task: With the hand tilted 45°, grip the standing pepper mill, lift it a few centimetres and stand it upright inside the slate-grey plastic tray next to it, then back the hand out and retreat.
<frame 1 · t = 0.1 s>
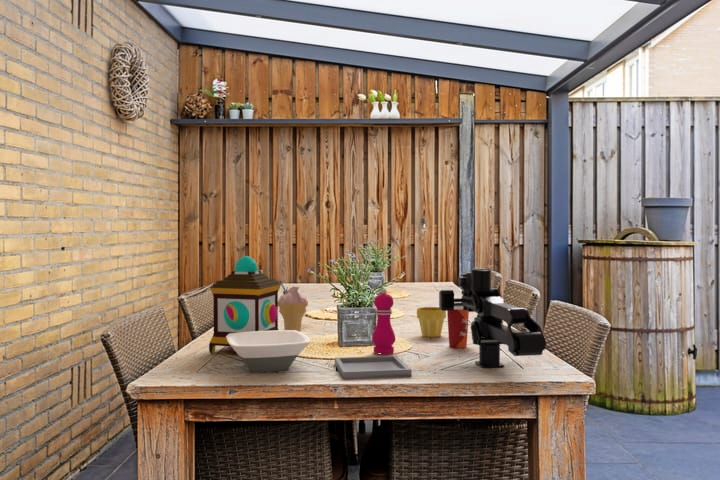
hand: (460, 296, 204), 17 cm above the table, tool horizontal, fingers open, 9 cm apart
paper cup: (457, 347, 207), on the table
pepper mill: (383, 353, 197), on the table
ice cream cone: (292, 336, 226), on the table
plant pot: (431, 336, 227), on the table
decorative lantern: (246, 351, 201), on the table
slate tray: (371, 369, 174), on the table
bowl: (267, 368, 177), on the table
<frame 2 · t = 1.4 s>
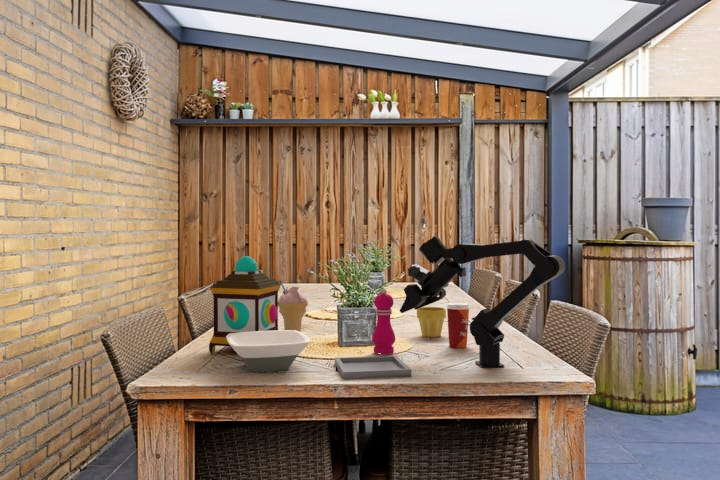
hand: (407, 310, 193), 14 cm above the table, tool tilted 45°, fingers open, 9 cm apart
nothing on the table moved.
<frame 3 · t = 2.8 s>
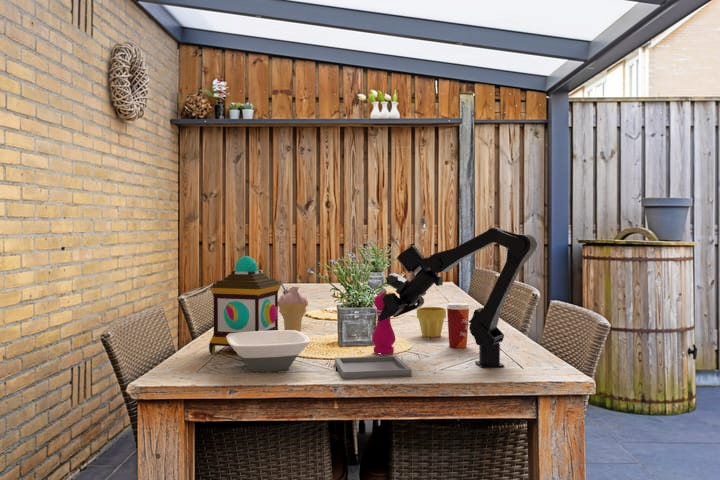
hand: (386, 318, 196), 11 cm above the table, tool tilted 45°, fingers open, 9 cm apart
nothing on the table moved.
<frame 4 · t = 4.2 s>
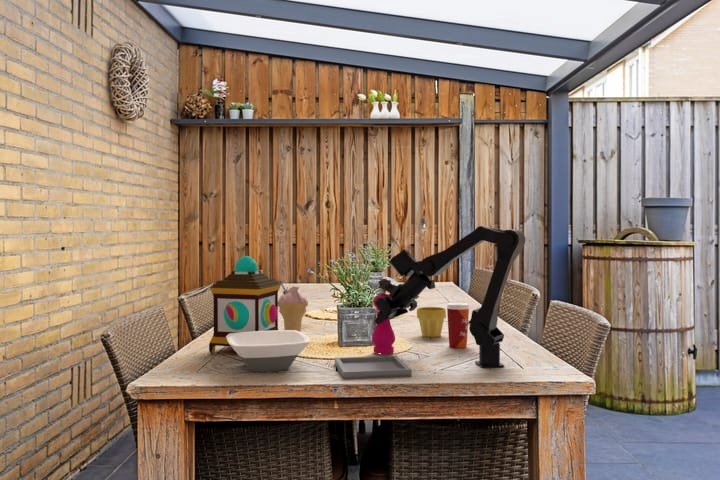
hand: (379, 321, 197), 10 cm above the table, tool tilted 45°, fingers closed on pepper mill, 5 cm apart
pepper mill: (383, 353, 197), on the table, touching gripper
everything else where it was.
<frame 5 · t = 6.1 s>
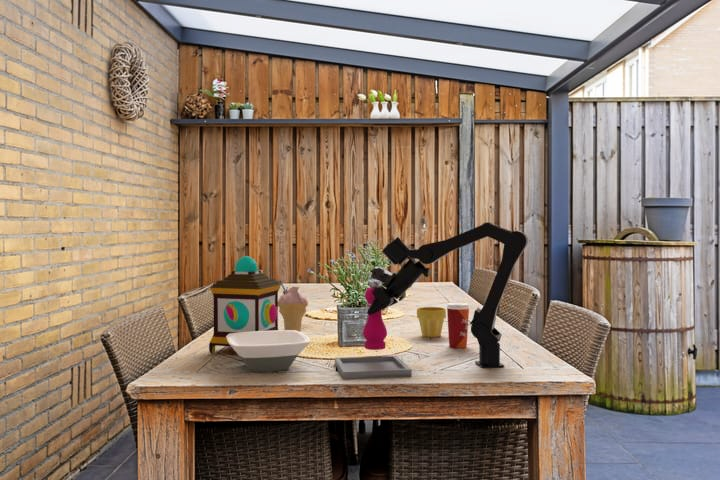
hand: (370, 313, 190), 13 cm above the table, tool tilted 45°, fingers closed on pepper mill, 5 cm apart
pepper mill: (374, 348, 190), point 3 cm above the table, touching gripper
everything else where it was.
when the fingers open (11 cm above the table, at t = 8.3 s): pepper mill stays where it is, resting on slate tray.
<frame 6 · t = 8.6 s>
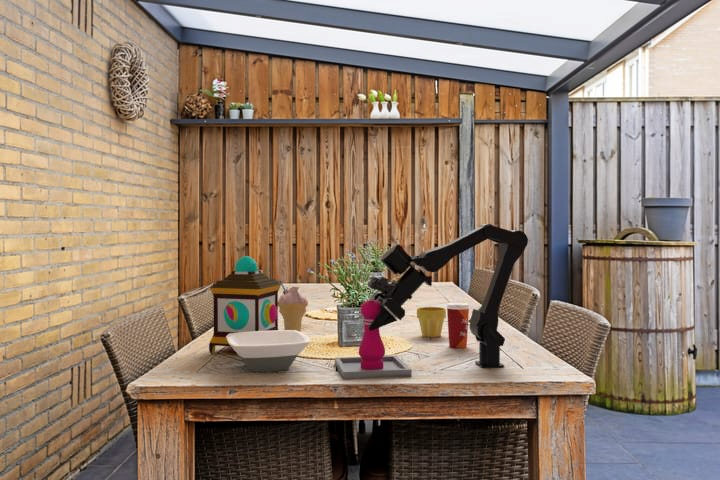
hand: (366, 327, 173), 12 cm above the table, tool tilted 45°, fingers open, 8 cm apart
pepper mill: (372, 368, 174), resting on slate tray
everything else where it was.
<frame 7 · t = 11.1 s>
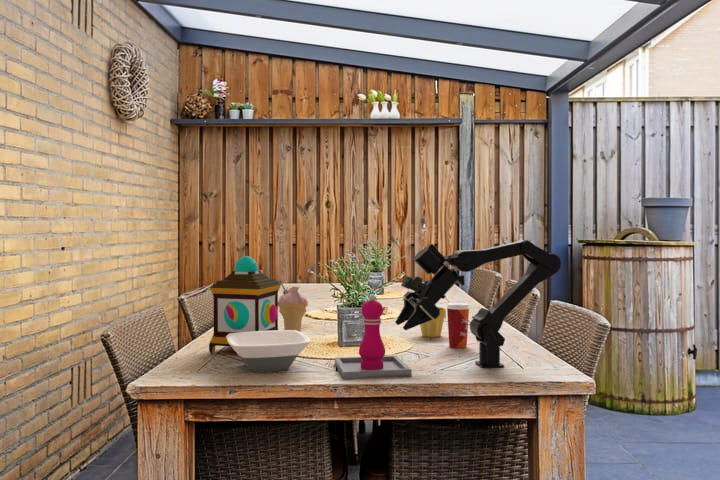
hand: (400, 326, 175), 12 cm above the table, tool tilted 45°, fingers open, 9 cm apart
nothing on the table moved.
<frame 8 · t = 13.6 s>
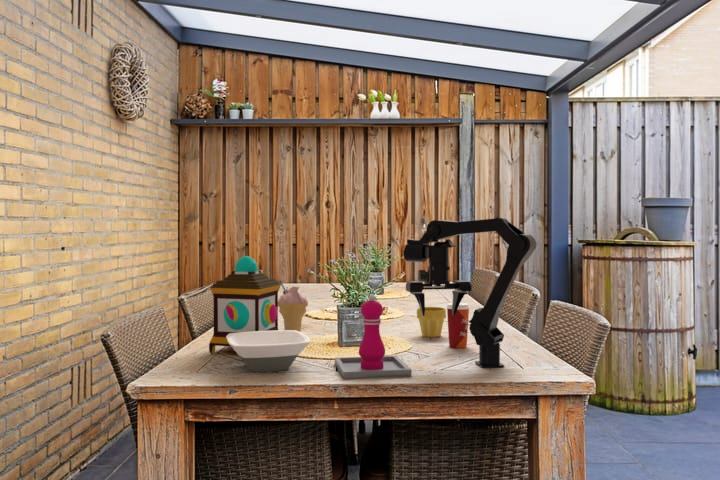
hand: (438, 315, 187), 13 cm above the table, tool pointing down, fingers open, 9 cm apart
nothing on the table moved.
at the end: pepper mill inside the target area on the slate tray (0.1 cm from its centre), point 0.4 cm above the slate tray's base; pepper mill tilted 0°; the gripper is holding nothing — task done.
